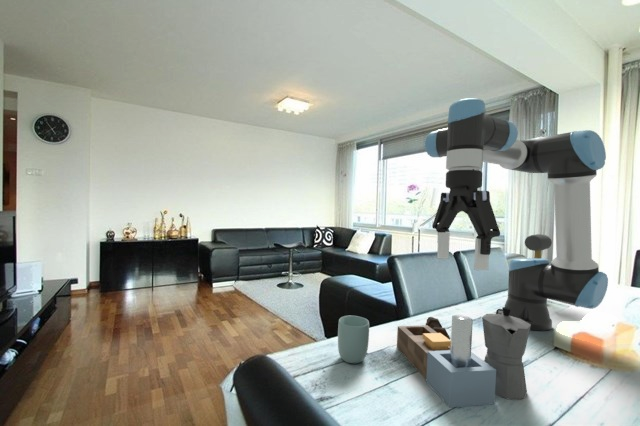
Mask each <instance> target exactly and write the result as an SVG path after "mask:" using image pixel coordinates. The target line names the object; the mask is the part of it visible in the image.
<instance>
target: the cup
mask: <svg viewBox="0 0 640 426" xmlns="http://www.w3.org/2000/svg"><path fill="white" fill-rule="evenodd" d="M337 326H338V328H337V350H338V354H339V357H340V358H341V359H342V360H343V361H344V362H345V363H348V364H360V363H362V362H363V361H364V360H365V359H366V356H367V354H368V353H367V352H368V349H369V342H370V341H369V340H370V339H369V338H370V321H369V320H368V319H367V318H365V317H362V316H358V315H344V316H341V317H340V318H339V319H338V325H337Z"/></svg>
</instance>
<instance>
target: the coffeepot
mask: <svg viewBox="0 0 640 426" xmlns="http://www.w3.org/2000/svg"><path fill="white" fill-rule="evenodd" d="M510 311H511V309H510V308H508V307H504V306H503V307H502V308H498V309H496V311H495V313H486V314H484V315H483V316H482V317H481V319H482V326H483V327H482V329H483V330H482V331H483V337H484V338H483V339H484V347H486V348H487V350H486V354H485V356H484V359H483V361H485V362H486V363H487V364H489V365H490V366H492V367H493V368H494V369H496V384H495V396H497V397H500V398H503V399H506V400H513V401H516V400H517V401H518V400H522V399H525V397H526V395H527V393H528V388H527V382H526V374H525V367H524V363H523V357H524V356H525V355H524V354H525V352H526V348H527V344H528V339H529V334H530V331H531V330H530V327H531V324H529V323H527V322H525V321H524V320H522V319H520V318H516V317H513V316H509V314H510Z"/></svg>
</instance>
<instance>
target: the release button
mask: <svg viewBox="0 0 640 426" xmlns="http://www.w3.org/2000/svg"><path fill="white" fill-rule="evenodd" d="M423 339H424V340H425V344H426V345H428V346H429V347H430V348H431V349H432V350H445V349H448V346H451V339H450V340H449V339H448V338H447V337H445V336H444V335H443V334H441V333H423Z"/></svg>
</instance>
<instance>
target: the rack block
mask: <svg viewBox="0 0 640 426" xmlns="http://www.w3.org/2000/svg"><path fill="white" fill-rule="evenodd" d="M425 382H426V383H427V385H428V386H429V387H430V388H431V389H432V390H433V391H434V392H435V393H436V394H437V395H438V396H439V398H440V399H441V400H442V401H443V402H444V403H445V404H446V405H447V406H448V407H449V408H459V407H473V406H485V405H495V403H496V401H495V399H496V395H495V384H496V369H494V368H493V367H492V366H490V365H489V364H487V363H486V362H485V361H484V359H482V358H480V357H479V356H478V355H477V354H475V353H474V352H472V351H471V364H470V367H464V368H455V367H454V366H453V365H452V364H451V363H450V350H441V351H428V355H427V376H426V379H425Z"/></svg>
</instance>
